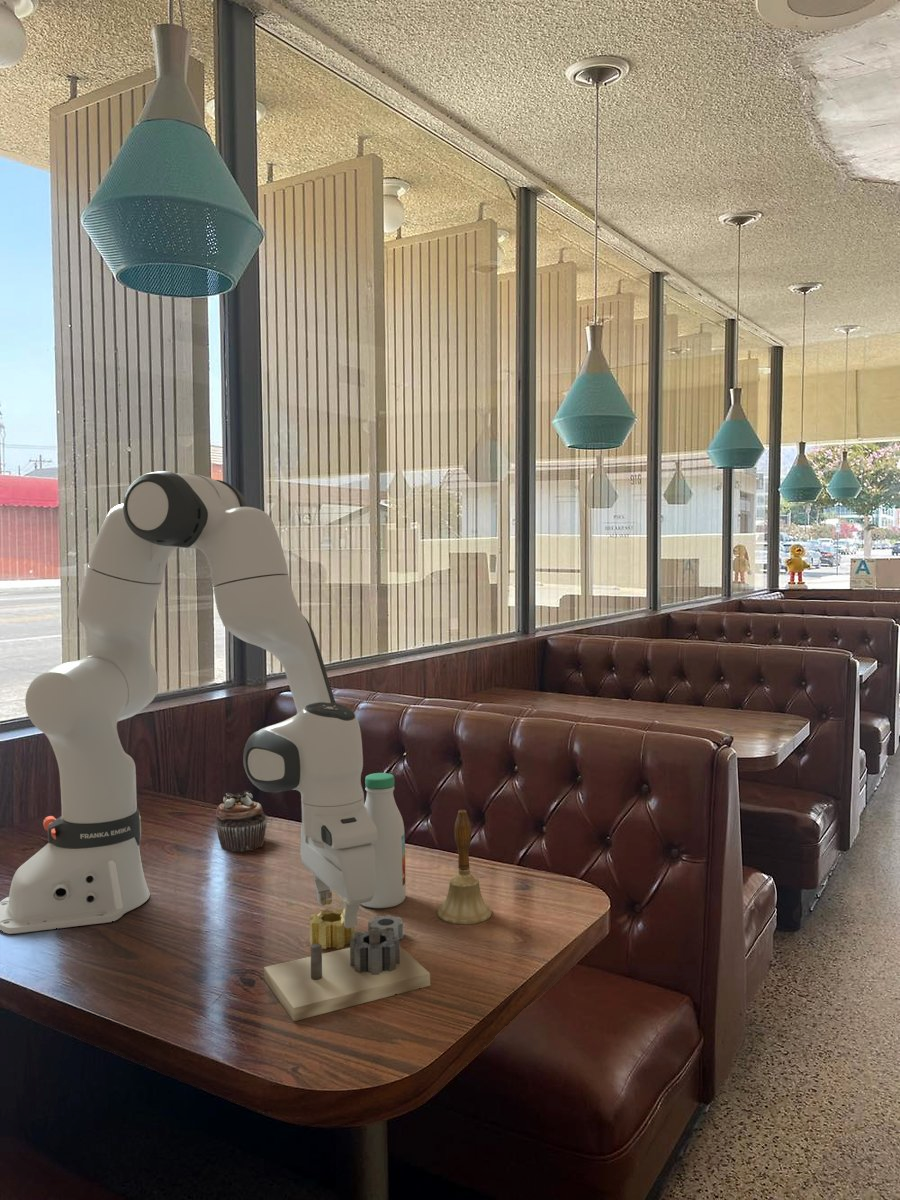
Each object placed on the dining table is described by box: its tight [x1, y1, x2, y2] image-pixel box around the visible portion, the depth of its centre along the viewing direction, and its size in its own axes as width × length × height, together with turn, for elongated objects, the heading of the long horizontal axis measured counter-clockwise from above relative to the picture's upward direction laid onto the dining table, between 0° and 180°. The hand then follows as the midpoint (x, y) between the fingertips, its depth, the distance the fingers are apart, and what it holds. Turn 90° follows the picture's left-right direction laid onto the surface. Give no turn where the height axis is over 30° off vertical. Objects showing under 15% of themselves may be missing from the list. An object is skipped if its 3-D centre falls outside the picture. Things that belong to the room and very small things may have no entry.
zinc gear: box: [367, 914, 405, 940], centre depth 129 cm, size 5×5×2 cm
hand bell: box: [436, 809, 493, 925], centre depth 137 cm, size 8×8×16 cm
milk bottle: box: [360, 772, 407, 909], centre depth 142 cm, size 8×8×20 cm
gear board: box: [263, 931, 431, 1022], centre depth 115 cm, size 18×12×6 cm, turn 118°
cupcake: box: [214, 789, 268, 852], centre depth 170 cm, size 10×10×10 cm
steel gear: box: [349, 929, 401, 975], centre depth 117 cm, size 6×6×3 cm
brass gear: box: [309, 908, 356, 950], centre depth 128 cm, size 6×6×3 cm
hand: (336, 914), depth 128 cm, fingers open, 8 cm apart
